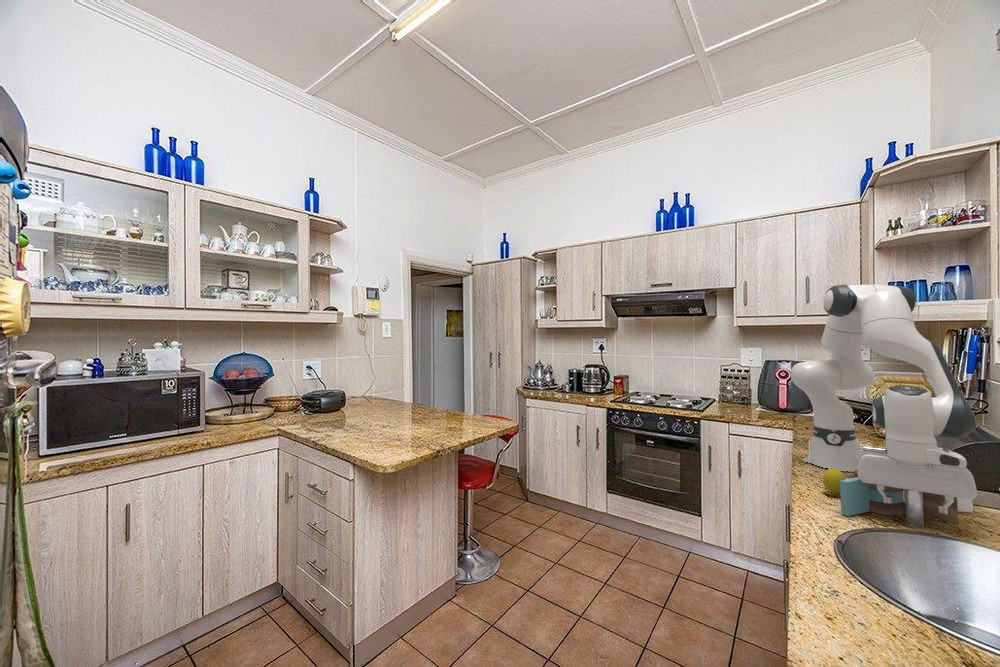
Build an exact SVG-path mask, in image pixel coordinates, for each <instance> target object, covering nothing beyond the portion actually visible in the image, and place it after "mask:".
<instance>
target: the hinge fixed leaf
mask: <svg viewBox="0 0 1000 667" xmlns="http://www.w3.org/2000/svg"><path fill="white" fill-rule="evenodd" d="M856 477H858V470H855V472H854V478H856ZM869 488H870V489H876V490H878V489H877V486H876V485H875V484H869ZM884 488H885V490H883V491H889V492H891V491H902V490H903V493H905V489H901V488H894V487H888V486H884ZM922 499H923V518H924V519H929V518H930V519H931V520H934V519H937V520H936V521H940V520H942V521H941V522H945V521H947V523H951V522H952V523H953V524H956V523H957V525H958V524H959V511H958V506H957V497H954V502H953V503H952V504H951V505H950V506H949V507H947V508H948V514H942V513H938V511H937V508H938V507H937V504H942V503H943V502H944V501H945V498H944V496H943V495H939V494H933V493H926V492H922ZM903 501H904V502H901V503H897V504H886V503H883V502H876V501H872V500H869V502H870V513H874V514H879V515H884V514H885V515H884V516H890V517H891V516H904V515H906V507H905V500H903Z"/></svg>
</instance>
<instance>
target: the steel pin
mask: <svg viewBox="0 0 1000 667" xmlns="http://www.w3.org/2000/svg"><path fill="white" fill-rule="evenodd" d="M904 501H905V507H906V514H905V522H906V524H907V525H908V524H909V526H910V525H913V526H912V527H914V526H917V527H916V528H919V527H923V528H925V523H924V521H925V520H924V519H925V518H924V517H923V499H922V492H920V491H914V490H907V489H905V492H904Z"/></svg>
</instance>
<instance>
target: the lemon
mask: <svg viewBox="0 0 1000 667" xmlns="http://www.w3.org/2000/svg"><path fill="white" fill-rule="evenodd" d="M846 479H847V478H846V475H845V474H844V473H843V471H839V470H837V469H836V468H832V469H827V470H826V471H825V472H823V475H822V483H823V486H824V488H825V489H826V490H827V491H829V493H831V494H833V495H834V496H838V495H839V494H840V480H846Z"/></svg>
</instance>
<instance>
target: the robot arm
mask: <svg viewBox="0 0 1000 667" xmlns="http://www.w3.org/2000/svg"><path fill="white" fill-rule="evenodd" d="M916 303H917V297H916V294H915V292H914V291H913V290H912V289H911V288H909V287H906V286H902V285H886V284H877V283H876V284H873V283H870V284H849V285H847V284H839V285H833V286H831V287H830V288H828V289H827V291H826V292H825V294H824V297H823V309H824V311H825V312H826V313H827V314H828V316H827V320H826V323H825V327H824V330H823V334H822V336H821V340H820V344H821V346H822V348H823V349H824V350H825V351H827V352H828V353H830V354H831V355H832V356H831V358H830V360H806V361H802V362H798V363H795V364H794V365H793V367H791V370H790V379H791V381H792V383H793V385H795V386H796V388H797V387H798V388H799V389H800V390H802V391H803V392H804V393H805V394H806V396H807V397H808V399H809V401H810V403H811V406H812V410H813V411H812V413H813V422H814V423H813V425H812V435H813V436H812V438H810V440H808V445H807V446H808V456H806V457H803V459H802V462H803V461H804V463H806V462H808V463H807V464H810V463H812V464H814V465H813V466H815V465H817V466H816V467H818V466H820V467H819V468H821V467H823V468H822V469H825V468H828V469H827V470H829V469H832V468H836V469H837V470H839V471H840V472H847V471H848V472H849V473H851V472H853V473H855V470H858V479H859V480H860V481H861V482H863V483H869V484H875V485H876V486H877V489H878V491H879V492H880V493H881V495H882V496H883V503H886V504H892V502H891V496H889V495H886V494H885V493H884V491H883V490H885V488H884V486H888V487H894V488H901V489H907V490H914V491H920V492H926V493H933V494H939V495H943V496H944V498H945V501H944V502H943V503H942V504H937V507H938V508H937V511H938V513H942V514H948V508H947V507H949V506H950V505H951V504H952V503H953V502H954V497H958V498H964V499H971V500H972V501H973V500H974V499H975V498H976V497H978V491H977V485H976V482H975V478H974V474H972V472H971V471H970V470H969V469H968V468H967V466H968V462H967V458H965V457H964V456H963V455H962V454H960V453H958V452H955V451H951V450H949V449H946V448H945V449H944V448H942V447H939V446H938V443H937V439H936V437H935V436H937V437H943V438H949V439H957V440H959V439H960V438H961V439H962V438H965V436H968V435H970V434H971V433H973V432H974V431H975V430H976V427H977V419H976V418H977V417H976V416H975V413H974V411H973V409H972V407H971V406H970V404H969V403H968V400H966V398H965V396H964V395H963V392H962V391H961V388H960V386H959V385H958V383H957V380H956V378H955V376H954V374H953V372H952V371H951V370H952V369H951V368H950V366H949V364H948V362H947V360H946V358H945V356H944V354H943V353H942V351H941V349H940V348H939V346H938V344H936V342H934V341H931V340H929V339H927V338H925V337H924V336H923V335H922V334H920V332H919V330H917V328H916V323H915V318H914V316H913V311H914V310H915V307H916ZM863 344H865V345H866V346H867V347H868V348H869V349H870V350H871V351H873V352H875V353H876V354H878V355H880V356H883V357H887V358H890V359H894V360H899V361H902V362H906V363H908V364H912V365H914V366H916V367H918V368H920V369H921V370H923V372H924V373H925V374H926V377H927V378H928V381H929V383H930V386H931V388H932V390H933V392H934V394H935V397H932V396H931V393H930V391H929V390H928V389H926V388H923V387H920V386H915V385H892V386H889V387H887V388H886V390H885V395H884V396H879V397H877V398H876V399H874V400H873V401H872V402H871V408H872V418H871V419H872V420H871V421H872V422H873V423H872V424H875V425H876V426H877V427H879V428H880V429H882V430H886V433H885V448H881V447H870V446H861V445H860V444H859V443H858V442H857V441H856V439H857V438H856V437H857V434H856V430H855V427H854V411H853V408H852V407H851V406H850V404H848V403H847V402H844V401H842V400H840V399H839V398H838V396H837V393H836V391H855V390H860V389H864V388H869V387H870V386H871V385H872V384H873V382H874V380H875V373H874V370H873V368H872V367H871V366H870V364H868V363H867V362H866V361H865V360H864V358H863V356H862V350H863ZM812 464H811V465H812Z"/></svg>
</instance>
